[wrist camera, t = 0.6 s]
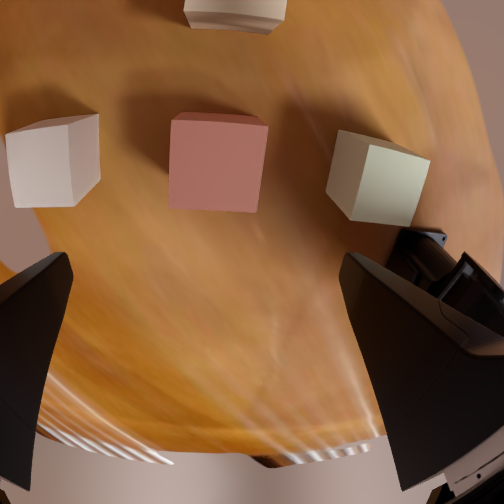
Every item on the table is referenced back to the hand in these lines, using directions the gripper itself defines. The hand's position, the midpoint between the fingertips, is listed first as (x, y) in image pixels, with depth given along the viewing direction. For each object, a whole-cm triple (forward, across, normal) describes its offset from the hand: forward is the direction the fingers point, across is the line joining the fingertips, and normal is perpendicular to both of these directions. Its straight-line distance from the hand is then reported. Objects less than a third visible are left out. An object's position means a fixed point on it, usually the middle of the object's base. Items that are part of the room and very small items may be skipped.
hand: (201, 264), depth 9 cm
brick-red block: (+13, 0, -1) cm, 13 cm away
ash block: (+13, -1, -12) cm, 17 cm away
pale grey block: (+13, +11, -1) cm, 17 cm away
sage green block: (+13, -11, 0) cm, 17 cm away
